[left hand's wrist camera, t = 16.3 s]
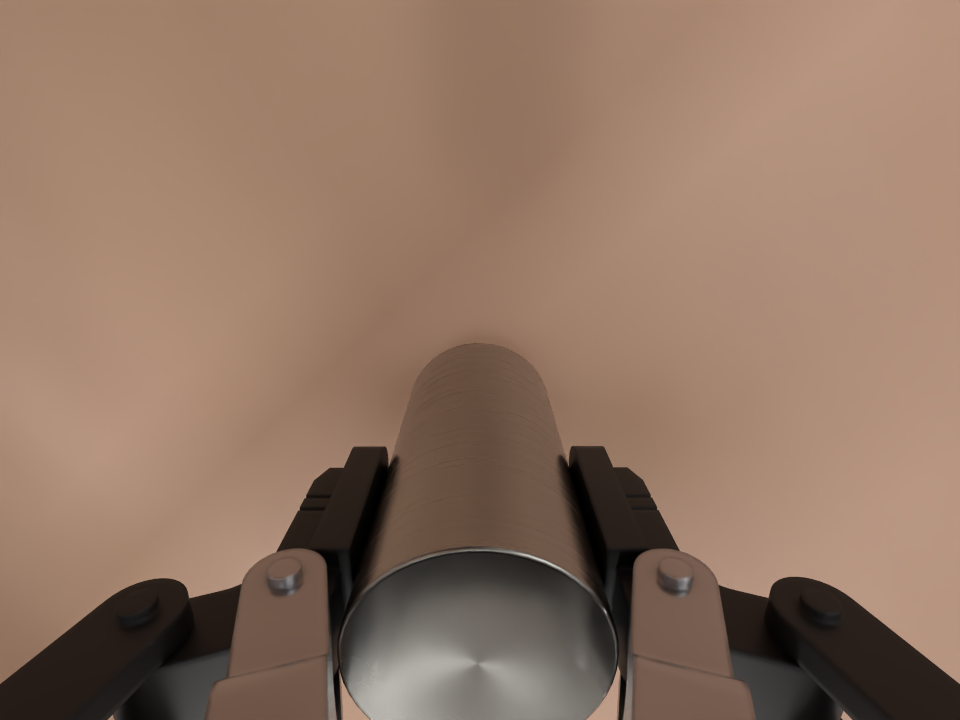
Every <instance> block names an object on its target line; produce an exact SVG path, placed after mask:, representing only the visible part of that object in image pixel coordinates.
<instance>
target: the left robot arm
mask: <svg viewBox="0 0 960 720" xmlns="http://www.w3.org/2000/svg"><path fill="white" fill-rule="evenodd" d="M388 468H389V464H388V453H387V448H386V447H353V449H352V451H351V453H350V455H349V457H348V460H347V462H346V464H345V466H344V468H329V469H328V470H327V471H325V472H324V473H323V474H322V475H320V476H319V477H318V478H317V479H315V480H314V482H313V484H312V486H311V487H310V489H309V491H308V493H307V495H306V498H305V499H304V501H303V503H302V504H301V506H300V511H298V512H297V514H296V516H295V518H294V520H293V521H292V523H291V525H290V527H289V529H288V531H287V533H286V535H285V537H284V539H283V540H282V542H281V544H280V546H279V548H278V550H277V552H276V553H273V554H271V555H269V556H267V557H265V558H263V559H262V560H260V561H259V562H257V563H256V564H255V565H254V566H253V567H252V568H251V569H250V570H249V571H248V572H247V573H246V575H245V577H244V579H243V582H242V584H240V585H238V586H235V587H233V588H230V589H226V590H223V591H219V592H215V593H210V594H206V595H202V596H198V597H193V598H189V595H188V591H187V588H186V587H185V586H184V584H182V583H181V582H179V581H177V580H173V579H165V578H160V579H152V580H147V581H143V582H140V583H137V584H134V585H132V586H129V587H127V588H125V589H123V590H121V591H119V592H118V593H116V594H114V595H113V596H111V597H110V598H109V599H107V600H106V601H105V602H103V603H102V604H101V605H99V606H98V607H97V608H96V609H94V610H93V611H92V612H91V613H89V614H88V615H87V616H86V617H84V618H83V619H82V620H81V621H79V622H78V623H77V624H76V625H74V626H73V627H72V628H70V629H69V630H68V631H67V632H65V633H64V634H63V635H62V636H60V637H59V638H58V639H57V640H55V641H54V642H53V643H52V644H50V645H49V646H48V647H47V648H45V649H44V650H43V651H41V652H40V653H39V654H38V655H36V656H35V657H34V658H33V659H31V660H30V661H29V662H28V663H26V664H25V665H24V666H23V667H21V668H20V669H19V670H18V671H16V672H15V673H14V674H12V675H11V676H10V677H9V678H7V679H6V680H5V681H4V682H2V683H1V684H0V720H108V719H109V718H110V717H111V716H112V715H113V717H114V720H343V706H342V688H341V677H340V670H339V665H338V657H337V642H338V635H339V630H340V626H341V622H342V619H343V616H344V613H345V609H346V606H347V603H348V600H349V596H350V593H351V590H352V586H353V583H354V580H355V577H356V573H357V570H358V567H359V563H360V560H361V557H362V554H363V550H364V547H365V544H366V541H367V537H368V534H369V531H370V527H371V524H372V521H373V518H374V514H375V511H376V508H377V505H378V501H379V498H380V495H381V491H382V488H383V485H384V482H385V478H386V475H387V472H388ZM569 470H570V473H571V477H572V480H573V483H574V487H575V490H576V494H577V497H578V500H579V504H580V507H581V511H582V514H583V517H584V521H585V524H586V528H587V531H588V534H589V538H590V541H591V544H592V548H593V551H594V555H595V558H596V561H597V565H598V568H599V572H600V575H601V578H602V582H603V585H604V589H605V592H606V595H607V599H608V602H609V606H610V609H611V612H612V616H613V619H614V622H615V626H616V630H617V635H618V639H619V658H618V667H619V670H620V677H619V688H618V706H617V720H842V719H841V716H842V713H843V710H844V711H845V712H846V714H847V715H848V716H849V717H850V718H851V719H852V720H960V684H959V683H958V682H956V681H955V680H954V679H953V678H951V677H950V676H949V675H948V674H946V673H945V672H944V671H942V670H941V669H940V668H939V667H937V666H936V665H935V664H934V663H932V662H931V661H930V660H929V659H927V658H926V657H925V656H924V655H922V654H921V653H920V652H919V651H917V650H916V649H915V648H913V647H912V646H911V645H910V644H908V643H907V642H906V641H905V640H903V639H902V638H901V637H900V636H898V635H897V634H896V633H895V632H893V631H892V630H891V629H889V628H888V627H887V626H886V625H884V624H883V623H882V622H881V621H879V620H878V619H877V618H876V617H874V616H873V615H872V614H871V613H869V612H868V611H867V610H866V609H864V608H863V607H862V606H860V605H859V604H858V603H857V602H855V601H854V600H853V599H852V598H850V597H849V596H847V595H846V594H845V593H843V592H841V591H840V590H838V589H836V588H834V587H832V586H830V585H828V584H825V583H823V582H820V581H817V580H813V579H809V578H804V577H787V578H783V579H780V580H778V581H777V582H775V583H774V584H773V586H772V587H771V590H770V594H769V598H766V597H762V596H757V595H753V594H749V593H745V592H741V591H736V590H732V589H729V588H725V587H723V586H720V585H718V582H717V579H716V577H715V575H714V573H713V572H712V571H711V570H710V569H709V568H708V567H707V566H706V565H705V564H704V563H703V562H701V561H700V560H698V559H697V558H695V557H693V556H691V555H689V554H687V553H684V552H681V551H680V550H679V549H678V547H677V545H676V543H675V541H674V539H673V537H672V535H671V533H670V531H669V529H668V527H667V525H666V524H665V522H664V520H663V518H662V516H661V514H660V512H659V510H657V506H656V504H655V502H654V500H653V499H652V498H651V495H650V493H649V491H648V489H647V487H646V485H645V483H644V481H643V480H642V479H641V478H640V477H638V476H637V475H636V474H635V473H634V472H632V471H631V470H630V469H629V468H627V467H613V466H612V464H611V461H610V459H609V457H608V455H607V452H606V450H605V448H604V447H603V446H572V447H571V449H570V455H569Z"/></svg>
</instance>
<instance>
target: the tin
mask: <svg viewBox="0 0 960 720" xmlns="http://www.w3.org/2000/svg"><path fill="white" fill-rule="evenodd" d="M337 657H338V665H339V670H340V673H341V677H342V680H343V683H344V685H345V687H346V689H347V691H348V693H349V695H350V696H351V698H352V699H353V701H354V702H355V704H356V705H357V706H358V707H359V708H360V710H361V711H362V712H363V713H364V714H365V715H366V716H367V717H368V718H369V719H370V720H586V719H587V718H588V717H589V716H590V715H591V714H592V713H593V712H594V711H595V710H596V709H597V708H598V707H599V705H600V704H601V702H602V701H603V700H604V698H605V697H606V695H607V693H608V691H609V689H610V687H611V685H612V683H613V680H614V677H615V674H616V671H617V665H618V658H619V639H618V635H617V630H616V626H615V622H614V619H613V616H612V612H611V609H610V606H609V602H608V599H607V595H606V592H605V589H604V585H603V582H602V578H601V575H600V572H599V568H598V565H597V561H596V558H595V555H594V551H593V548H592V544H591V541H590V538H589V534H588V531H587V528H586V524H585V521H584V517H583V514H582V511H581V507H580V504H579V500H578V497H577V494H576V490H575V487H574V483H573V480H572V477H571V473H570V470H569V466H568V463H567V460H566V456H565V453H564V450H563V446H562V443H561V439H560V436H559V433H558V429H557V426H556V422H555V419H554V416H553V412H552V409H551V405H550V402H549V399H548V395H547V392H546V389H545V386H544V383H543V381H542V379H541V377H540V376H539V374H538V372H537V371H536V370H535V369H534V367H533V366H532V365H531V364H530V363H529V362H528V361H527V360H526V359H524V358H523V357H522V356H520V355H519V354H517V353H515V352H513V351H512V350H509V349H507V348H504V347H501V346H497V345H493V344H486V343H473V344H465V345H461V346H457V347H454V348H452V349H449V350H447V351H445V352H443V353H441V354H440V355H438V356H437V357H435V358H434V359H433V360H432V361H431V362H430V363H428V364H427V365H426V367H425V368H424V369H423V370H422V372H421V373H420V375H419V376H418V378H417V380H416V382H415V384H414V387H413V390H412V393H411V396H410V400H409V403H408V406H407V410H406V413H405V416H404V419H403V423H402V426H401V429H400V432H399V436H398V439H397V442H396V446H395V449H394V452H393V455H392V459H391V462H390V465H389V468H388V472H387V475H386V478H385V482H384V485H383V488H382V491H381V495H380V498H379V501H378V505H377V508H376V511H375V514H374V518H373V521H372V524H371V527H370V531H369V534H368V537H367V541H366V544H365V547H364V550H363V554H362V557H361V560H360V563H359V567H358V570H357V573H356V577H355V580H354V583H353V586H352V590H351V593H350V596H349V600H348V603H347V606H346V609H345V613H344V616H343V619H342V622H341V626H340V630H339V635H338V642H337Z"/></svg>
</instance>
